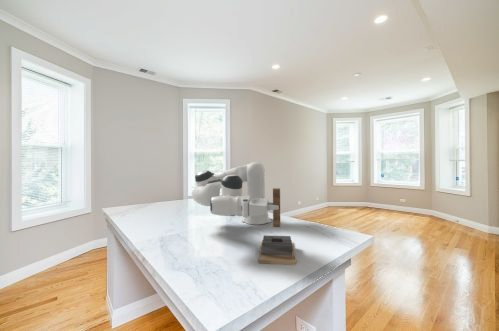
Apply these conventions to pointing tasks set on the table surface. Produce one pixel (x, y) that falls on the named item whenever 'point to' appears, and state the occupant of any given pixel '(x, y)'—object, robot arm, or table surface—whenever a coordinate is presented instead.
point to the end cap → (277, 250)
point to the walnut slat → (277, 212)
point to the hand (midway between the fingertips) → (278, 206)
